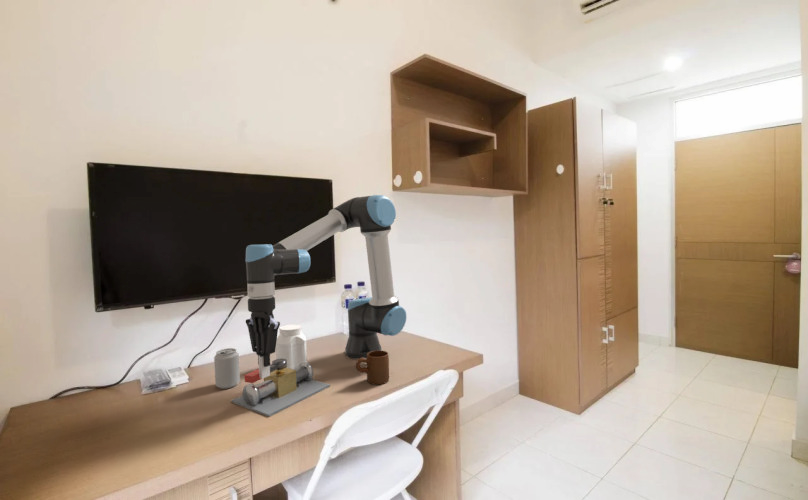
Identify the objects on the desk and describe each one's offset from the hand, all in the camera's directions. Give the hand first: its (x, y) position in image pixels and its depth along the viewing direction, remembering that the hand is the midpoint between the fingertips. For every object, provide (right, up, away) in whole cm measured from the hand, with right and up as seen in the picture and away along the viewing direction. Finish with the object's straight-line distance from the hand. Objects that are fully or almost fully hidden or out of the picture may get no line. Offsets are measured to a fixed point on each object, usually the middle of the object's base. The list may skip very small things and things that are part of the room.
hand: (264, 376), depth 112 cm
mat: (+2, -9, +9) cm, 13 cm away
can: (-19, -9, +17) cm, 27 cm away
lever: (-1, 0, +4) cm, 4 cm away
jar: (-2, -8, +35) cm, 36 cm away
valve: (+2, -9, +10) cm, 13 cm away
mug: (+30, -8, +17) cm, 36 cm away
